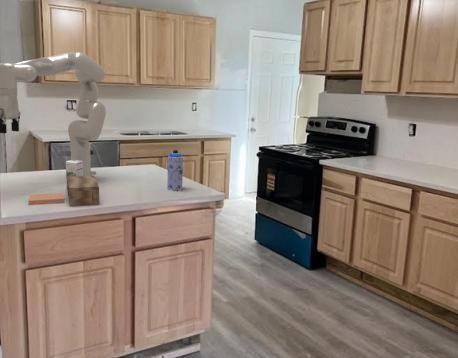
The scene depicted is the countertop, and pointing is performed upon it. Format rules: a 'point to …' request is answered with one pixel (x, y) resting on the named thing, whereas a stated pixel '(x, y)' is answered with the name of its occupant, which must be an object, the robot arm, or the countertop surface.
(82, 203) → the brown box
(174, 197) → the countertop surface
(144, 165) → the countertop surface
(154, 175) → the countertop surface
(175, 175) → the aerosol can
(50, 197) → the panel
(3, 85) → the robot arm
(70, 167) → the syrup box
